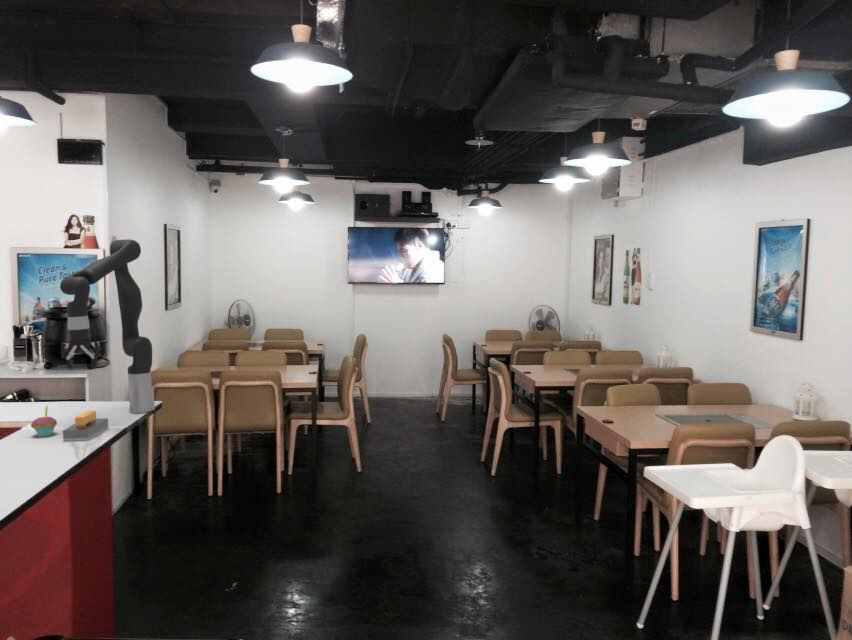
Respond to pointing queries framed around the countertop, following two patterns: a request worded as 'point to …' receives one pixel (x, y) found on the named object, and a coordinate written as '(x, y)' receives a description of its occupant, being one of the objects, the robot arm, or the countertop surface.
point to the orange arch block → (85, 419)
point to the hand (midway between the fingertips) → (82, 368)
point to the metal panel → (85, 430)
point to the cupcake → (44, 425)
